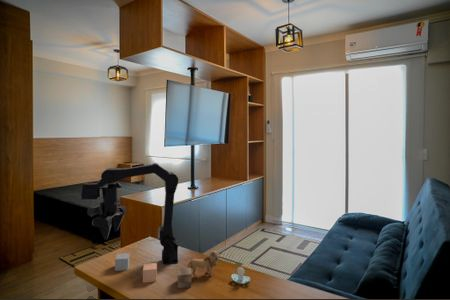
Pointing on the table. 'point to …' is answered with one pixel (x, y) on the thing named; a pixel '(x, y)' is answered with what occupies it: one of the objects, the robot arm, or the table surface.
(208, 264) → the lion figurine
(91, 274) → the table surface
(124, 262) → the slate grey block
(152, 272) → the terracotta block
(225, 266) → the table surface
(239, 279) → the pacifier
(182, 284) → the walnut block
